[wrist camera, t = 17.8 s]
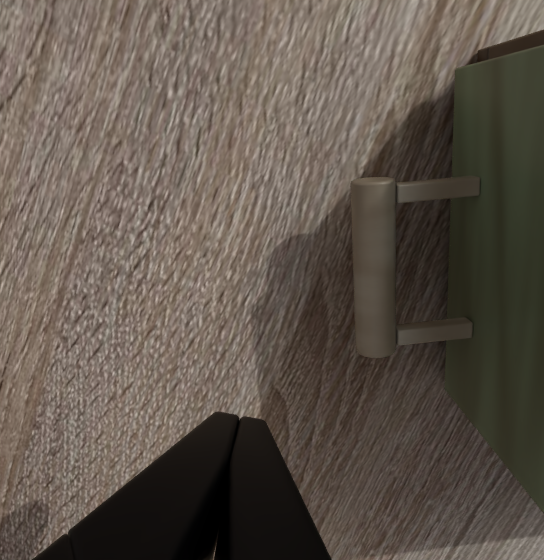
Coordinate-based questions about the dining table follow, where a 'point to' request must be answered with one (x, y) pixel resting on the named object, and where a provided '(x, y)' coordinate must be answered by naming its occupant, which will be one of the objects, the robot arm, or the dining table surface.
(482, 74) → the drawer
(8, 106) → the dining table surface
